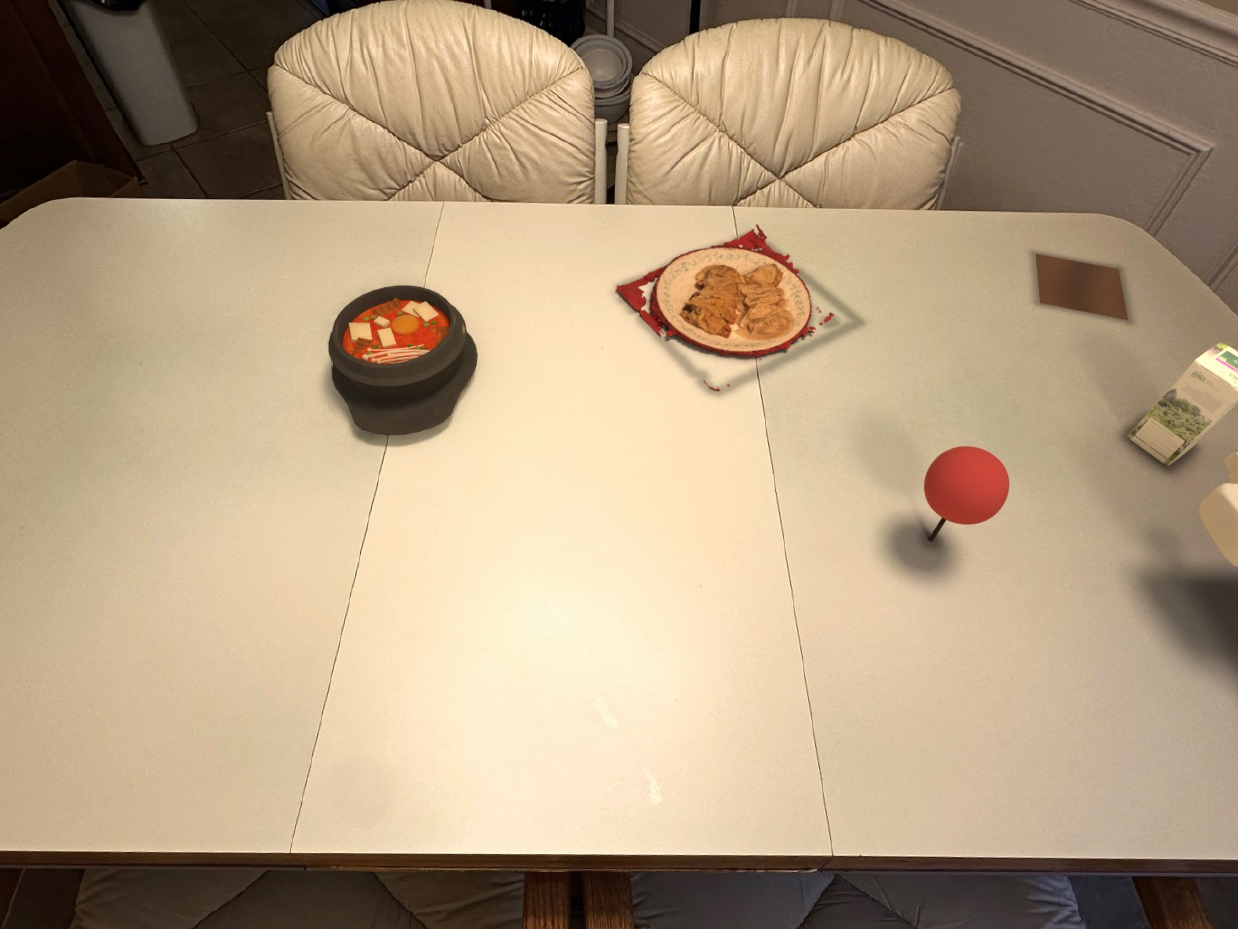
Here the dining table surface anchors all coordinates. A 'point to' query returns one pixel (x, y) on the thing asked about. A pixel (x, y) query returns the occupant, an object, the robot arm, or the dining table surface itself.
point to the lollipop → (965, 486)
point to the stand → (1080, 286)
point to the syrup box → (1190, 405)
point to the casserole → (400, 359)
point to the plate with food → (728, 298)
